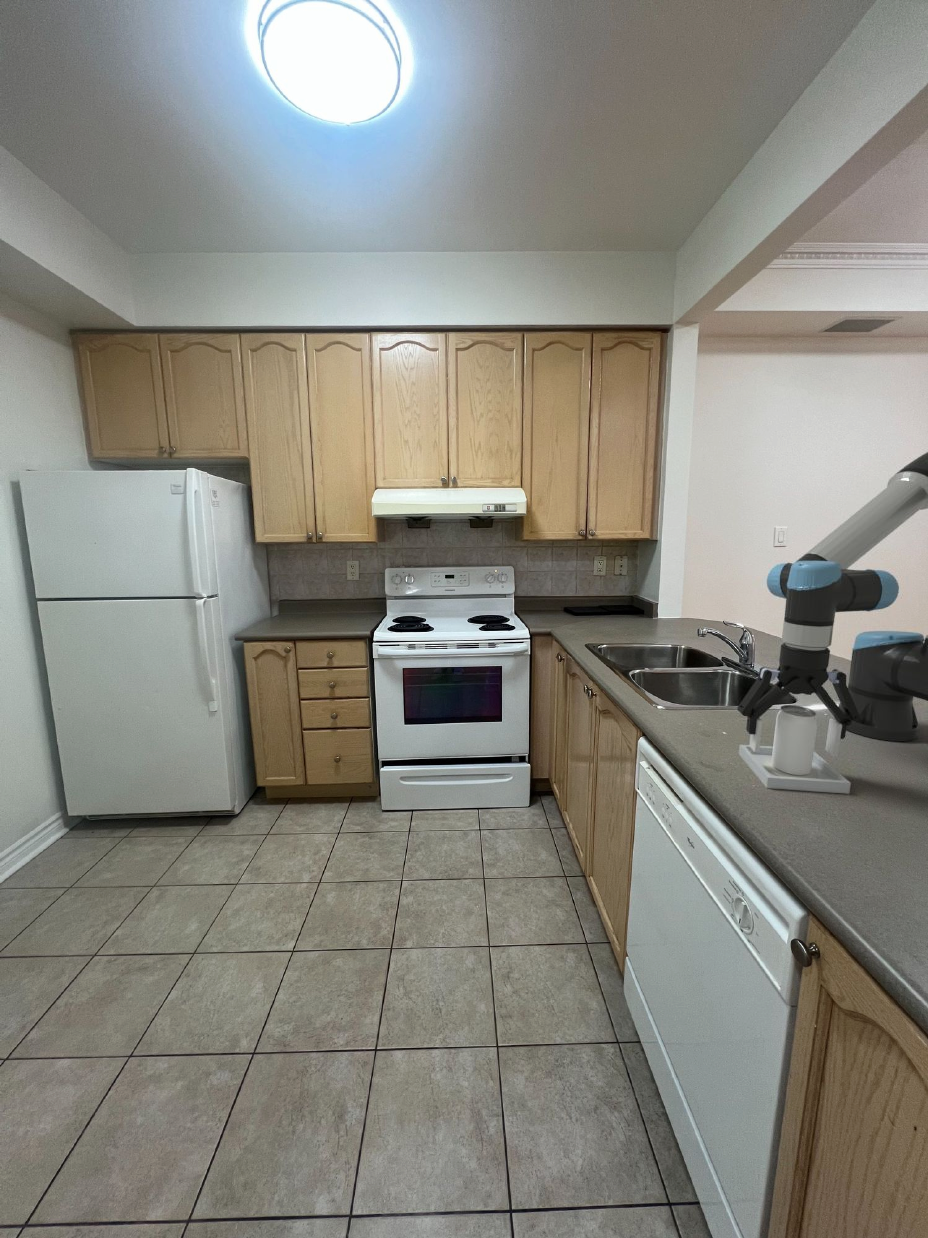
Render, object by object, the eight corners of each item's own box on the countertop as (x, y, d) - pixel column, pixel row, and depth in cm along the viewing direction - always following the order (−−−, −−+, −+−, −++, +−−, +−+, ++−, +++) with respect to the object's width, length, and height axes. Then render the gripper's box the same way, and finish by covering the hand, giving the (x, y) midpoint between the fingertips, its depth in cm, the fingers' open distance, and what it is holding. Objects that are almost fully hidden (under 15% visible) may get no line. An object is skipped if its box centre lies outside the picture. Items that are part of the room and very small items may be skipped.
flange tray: (809, 758, 100) (811, 748, 100) (849, 793, 87) (850, 783, 87) (738, 753, 103) (739, 744, 102) (766, 788, 90) (767, 777, 89)
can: (773, 757, 99) (780, 701, 97) (812, 766, 95) (820, 709, 93) (768, 769, 94) (775, 711, 92) (809, 780, 90) (817, 720, 88)
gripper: (868, 641, 92) (852, 746, 96) (725, 638, 96) (716, 739, 100) (895, 652, 84) (877, 765, 89) (740, 648, 89) (729, 756, 93)
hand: (792, 751), depth 94 cm, fingers open, 13 cm apart
